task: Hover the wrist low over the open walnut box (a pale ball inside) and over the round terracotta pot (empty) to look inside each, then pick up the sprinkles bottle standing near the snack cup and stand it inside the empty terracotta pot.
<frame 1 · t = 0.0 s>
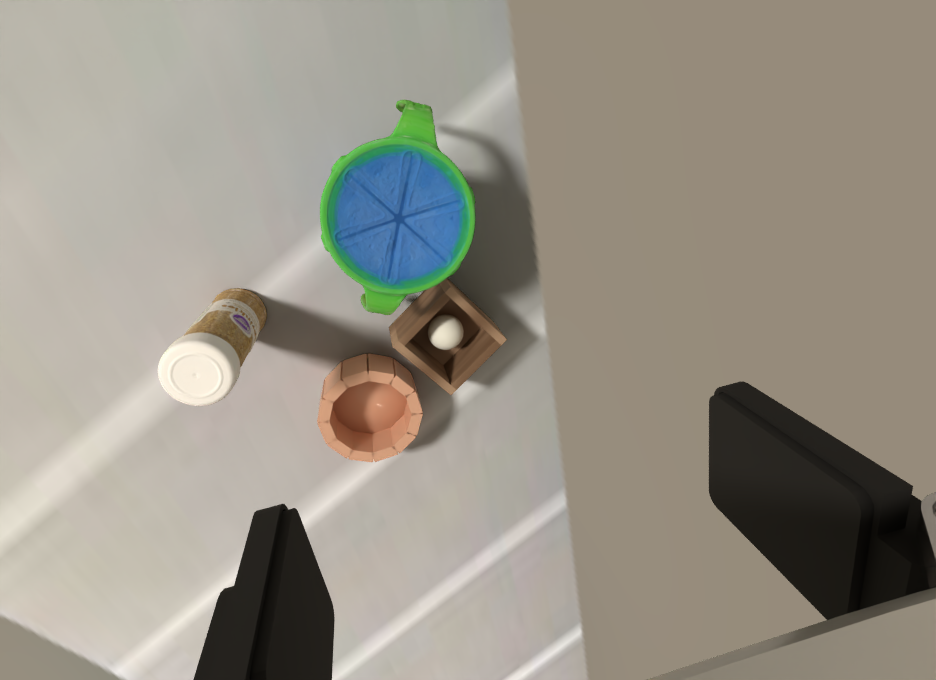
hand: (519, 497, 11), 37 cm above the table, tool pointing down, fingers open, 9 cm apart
walnut box: (442, 324, 49), on the table
sprinkles bottle: (239, 311, 46), on the table
pot: (369, 397, 51), on the table
ball: (443, 326, 49), point 1 cm above the table, touching walnut box
snack cup: (391, 203, 45), on the table
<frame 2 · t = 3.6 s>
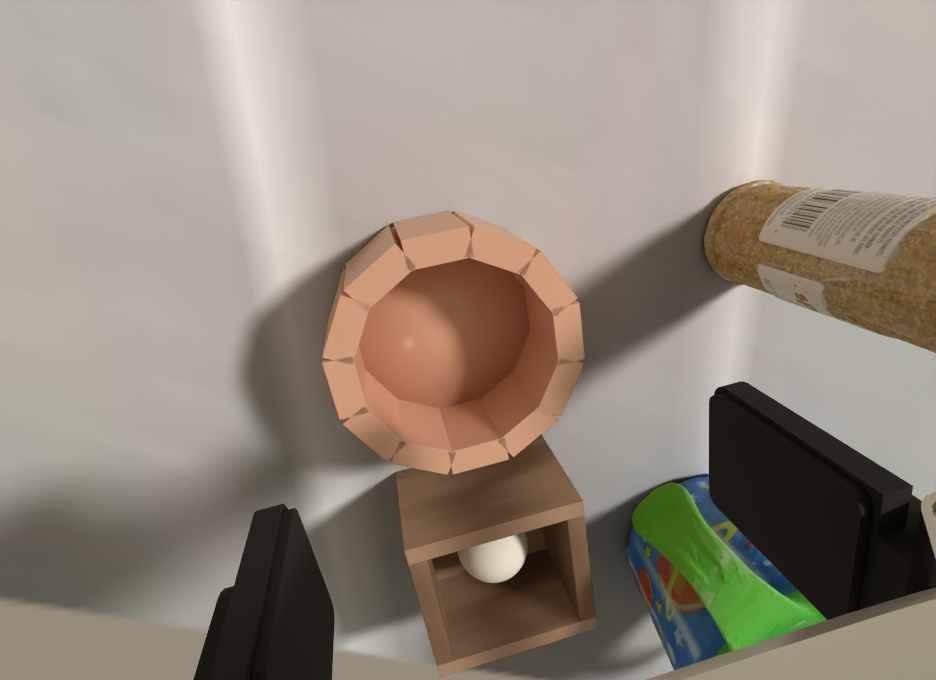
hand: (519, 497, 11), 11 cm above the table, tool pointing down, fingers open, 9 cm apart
walnut box: (481, 512, 26), on the table
sprinkles bottle: (744, 230, 23), on the table
pot: (443, 324, 22), on the table
ball: (484, 520, 25), point 1 cm above the table, touching walnut box
snack cup: (683, 525, 29), on the table
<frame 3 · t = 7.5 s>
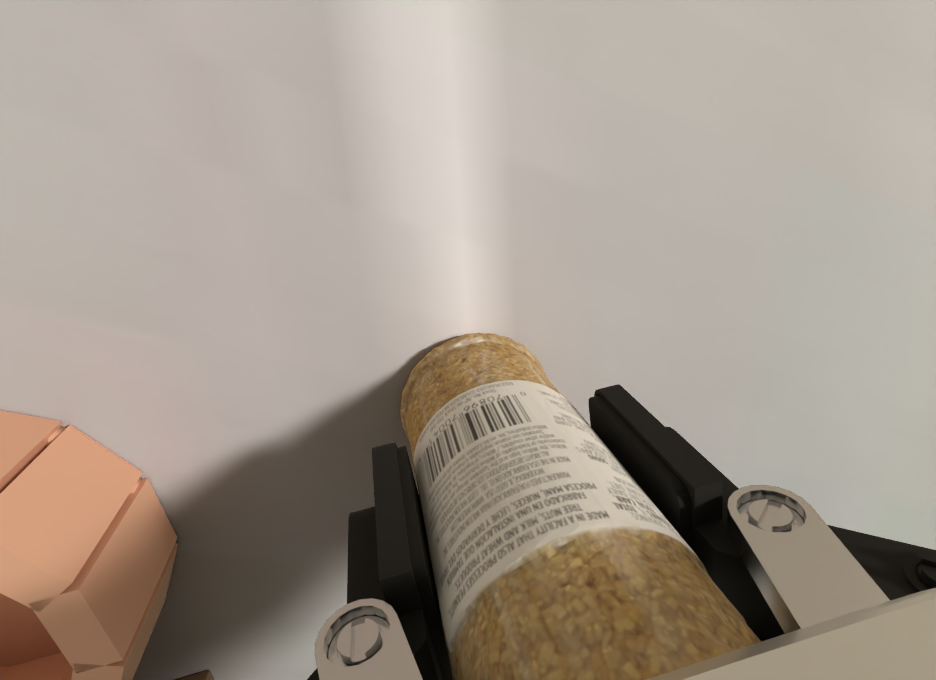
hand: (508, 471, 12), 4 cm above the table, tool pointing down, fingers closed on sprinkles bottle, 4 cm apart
sprinkles bottle: (473, 394, 16), on the table, touching gripper
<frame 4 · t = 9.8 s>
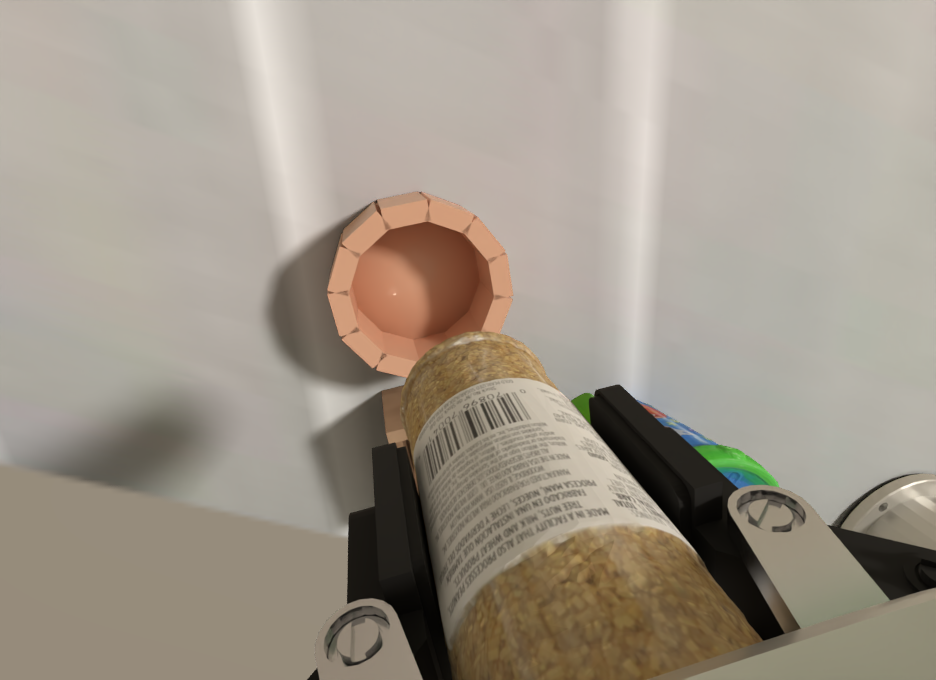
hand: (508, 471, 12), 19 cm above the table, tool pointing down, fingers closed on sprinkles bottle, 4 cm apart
walnut box: (448, 425, 34), on the table
sprinkles bottle: (473, 393, 16), point 15 cm above the table, touching gripper
pot: (415, 276, 30), on the table
snack cup: (609, 441, 37), on the table
when the fingers open (6 cm above the table, at t = 12.6 s): sprinkles bottle drops 1 cm, resting on pot.
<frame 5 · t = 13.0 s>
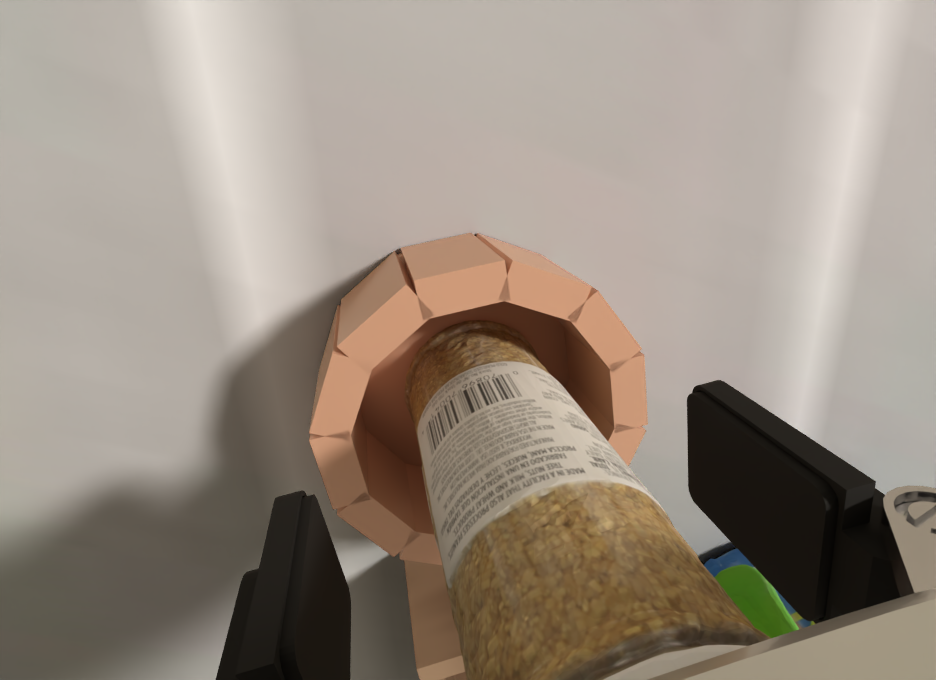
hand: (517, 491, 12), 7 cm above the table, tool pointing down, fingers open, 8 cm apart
walnut box: (505, 587, 22), on the table
sprinkles bottle: (472, 377, 17), resting on pot
pot: (462, 371, 18), on the table
snack cup: (738, 591, 25), on the table
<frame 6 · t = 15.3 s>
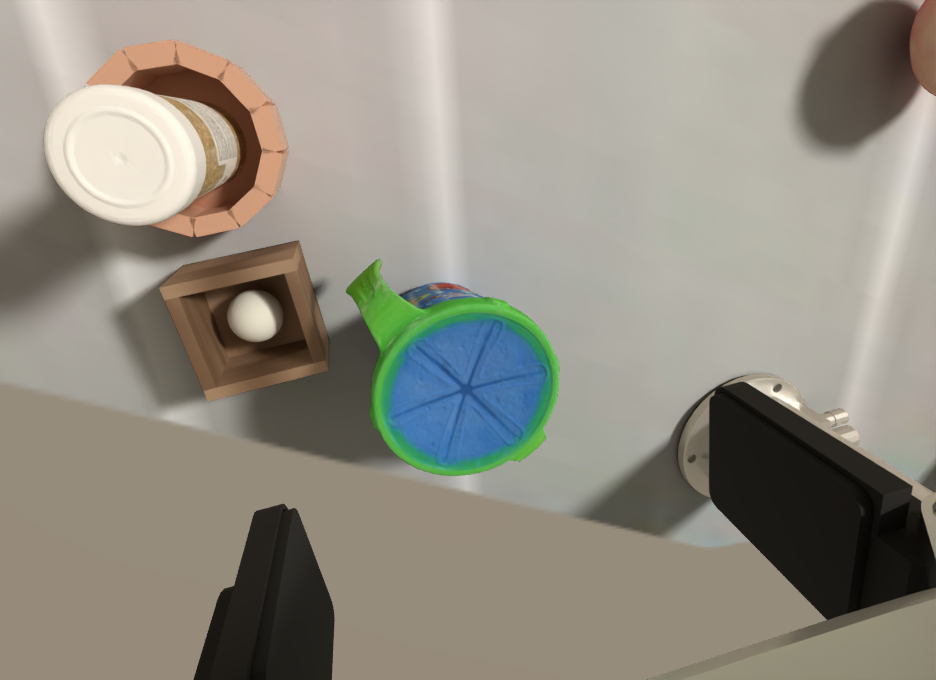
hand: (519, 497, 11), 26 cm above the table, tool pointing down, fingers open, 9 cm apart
walnut box: (260, 304, 34), on the table
sprinkles bottle: (206, 143, 30), resting on pot
pot: (203, 142, 30), on the table
ball: (259, 307, 34), point 1 cm above the table, touching walnut box
snack cup: (436, 330, 38), on the table
decorative fruit: (911, 43, 38), on the table
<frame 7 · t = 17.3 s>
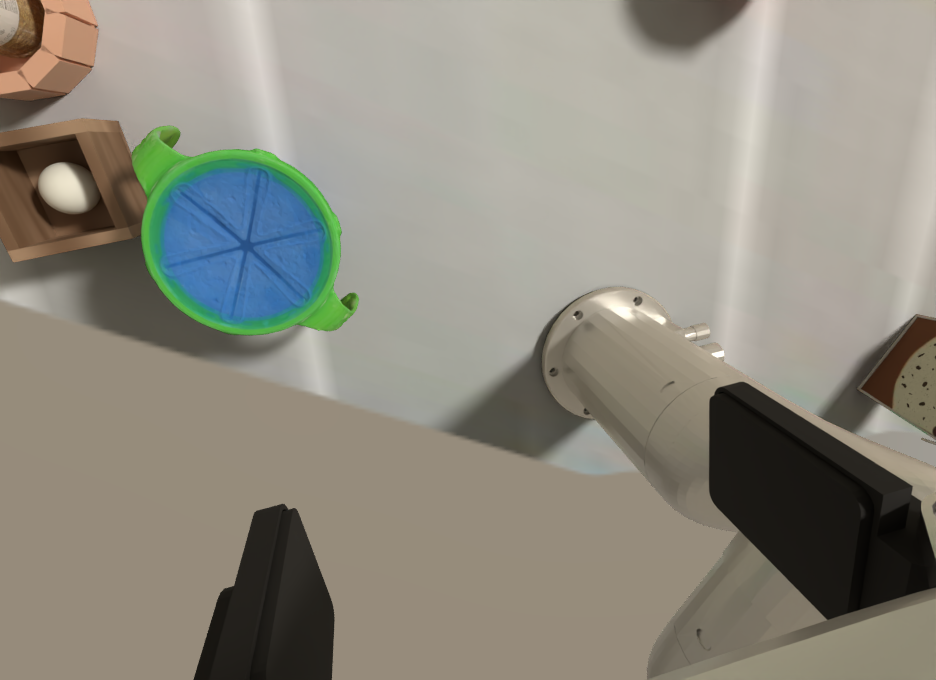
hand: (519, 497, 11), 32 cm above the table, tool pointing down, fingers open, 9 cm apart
walnut box: (86, 185, 36), on the table
food container: (900, 363, 56), on the table
sprinkles bottle: (13, 17, 32), resting on pot
pot: (12, 17, 32), on the table
ball: (82, 186, 35), point 1 cm above the table, touching walnut box
snack cup: (270, 222, 39), on the table
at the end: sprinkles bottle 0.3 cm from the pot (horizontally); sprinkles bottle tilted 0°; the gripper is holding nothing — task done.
